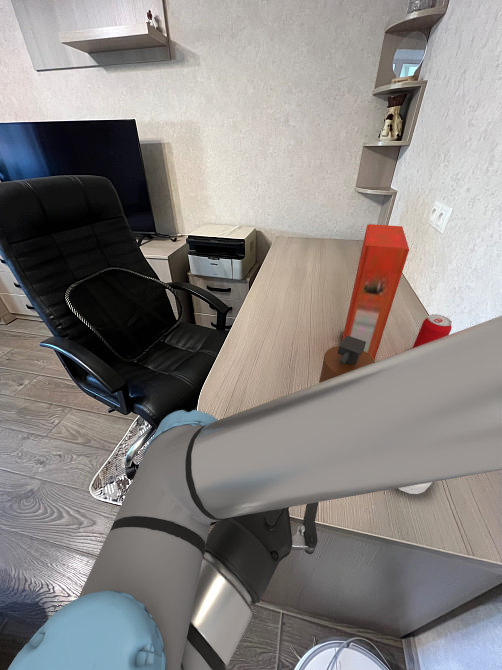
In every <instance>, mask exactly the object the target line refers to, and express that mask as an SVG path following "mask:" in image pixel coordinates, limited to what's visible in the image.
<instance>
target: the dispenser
mask: <svg viewBox="0 0 502 670" xmlns="http://www.w3.org/2000/svg"><path fill="white" fill-rule="evenodd" d="M342 340H343V339H342ZM342 340H341V343H340V344H339V345H335V346H331V347H330V348H328V349H327V350H325V352H324V355H323V360H322V363H321V369H320V374H319V380H318V383H320V382H323V381H326V380H329V379H331V378H334V377H337V376H339V375H342V374H345V373H347V372H350V371H353V370H356V369H358V368H361V367H364V366H366V365H369V364H372V363H375V362H376V360H374V359H373V358H372V357H371V356H370V355H369V354H368V353H366V352H365V351H363V350H364V348H365V344H366V342H365V341H362V340H359V339H356V338H354V337H351V336H348V335H347V336H346V337H345V339H344V340H343V341H342Z"/></svg>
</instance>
